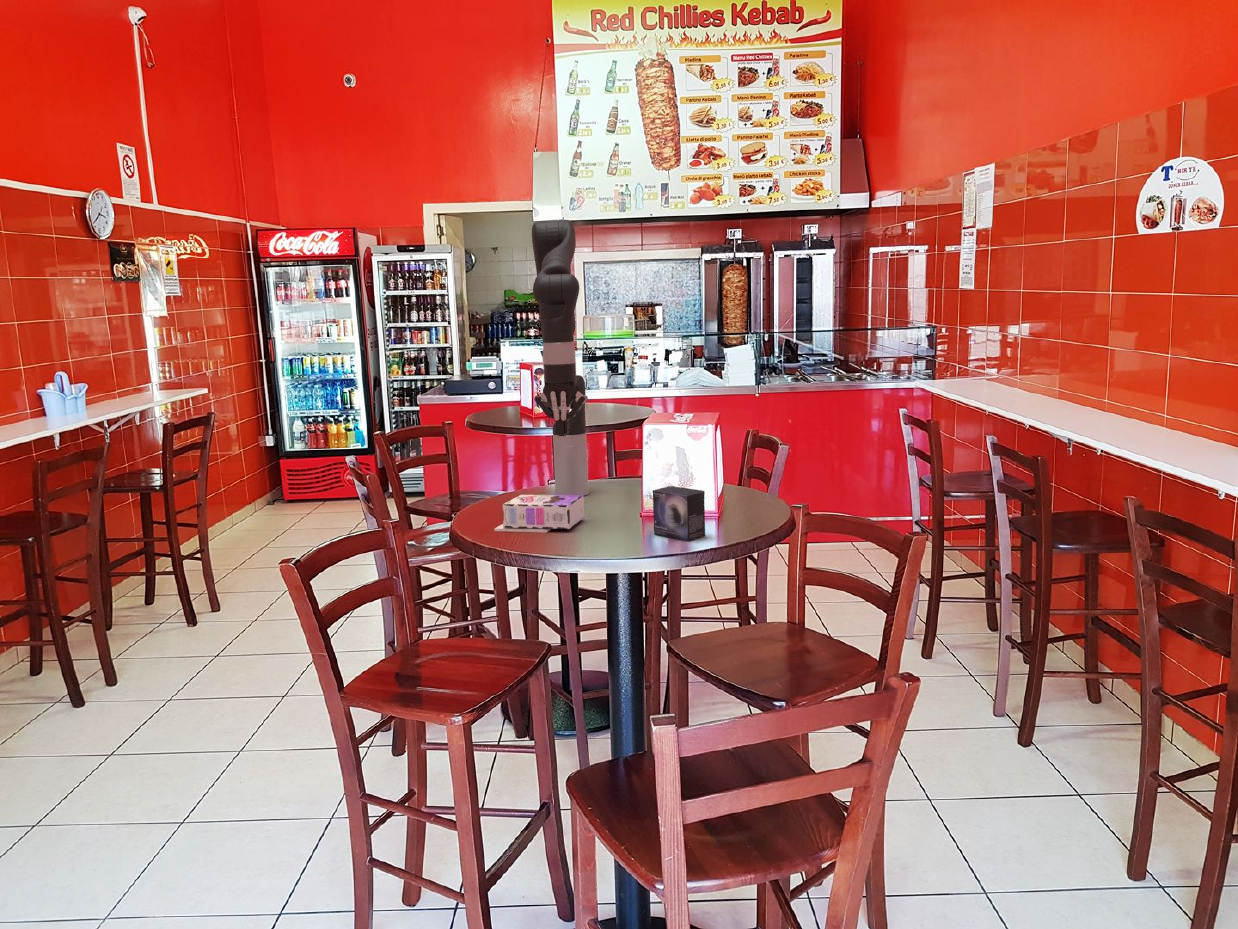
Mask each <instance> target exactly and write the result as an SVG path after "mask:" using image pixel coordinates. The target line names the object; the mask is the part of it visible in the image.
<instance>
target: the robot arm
mask: <svg viewBox="0 0 1238 929" xmlns="http://www.w3.org/2000/svg"><path fill="white" fill-rule="evenodd" d="M531 241H532V243H531V244H532V250H533V258H534V264H535V270H536V277H535V279H534V281H533V286H532V296H533V298H534V300H535V302H536V303H537V304H539V305H538V308H539V318H540V321H539V322H540V328H541V330H540V332H541V338H542V346H543V347H542V362H543V363H542V364H543V365H542V367H543V383H544V385H543V387H542V392H541V393H540V394H539V395H538V396H535V398H534V401H535V403H536V404H537V406H539V408H540V409H541V411H542V412H543V413H544V414H545V415H546V417H547V418H549V419H553V420H554V422H555V423H553V425H552V443H553V466H554V470H553V471H554V489H555V490H554V492H555V494H554V495H584V497H585V496H587V495H589V474H588V473H589V471H588V451H587V450H588V448H587V447H588V446H587V426H586V425H587V424H586V402H587V401H588V399H589V398H588V395H586V393H587V392H586V383H585V378H584V377H583V376H582V375H577V368H576V367H577V364H576V348H575V344H574V335H575V332H576V315H575V311H576V306H577V302H578V298H579V294H580V283H579V281H578V278H577V277H576V276H575V275H574V274H572V268H571V267H572V261H573V258H574V255H575V252H576V246H577V244H576V243H577V242H576V241H577V240H576V230H575V226H574V223H572V221H571V220H569V219H550V220H549V219H546V220H537V221H535V222H533V223H532V225H531Z"/></svg>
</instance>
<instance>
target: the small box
mask: <svg viewBox="0 0 1238 929" xmlns="http://www.w3.org/2000/svg"><path fill="white" fill-rule="evenodd" d="M652 508H653V509H652V511H653V535H654V536H658V537H663V538H664V537H665V538H670V539H674V540H678V541H684V542H691V541H695V540H699V539H702V538H704V537H706V513H705V512H706V511H705V490H702V489H700V490H699V489H695V488H687V487H681V486H675V485H674V486H673V485H668V486H664V487H661V488H657V489H653V490H652Z"/></svg>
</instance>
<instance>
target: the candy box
mask: <svg viewBox="0 0 1238 929" xmlns="http://www.w3.org/2000/svg"><path fill="white" fill-rule="evenodd" d="M584 497H585V496H584V495H555V494H519V495H518V496H515V497H514V498H512V499H511V500H509V501H506V502H505V503H503V504H502V524H503V527H504V528H540V529H552V530H570V529H571V528H573V527H574V526H575V525H577V524H578V523H579V522H580V521H582V520H583V519H584V518H585V517H586V513H585V511H586V510H585V498H584Z"/></svg>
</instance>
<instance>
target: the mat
mask: <svg viewBox="0 0 1238 929" xmlns="http://www.w3.org/2000/svg"><path fill="white" fill-rule="evenodd" d="M551 530H553V529H540V528H504V527H503V523H502V524H500V525H498V526H497V527H494V532H511V533H513V532H514V533H520V532H521V533H545V534H546V533H548V532H550V531H551Z"/></svg>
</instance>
